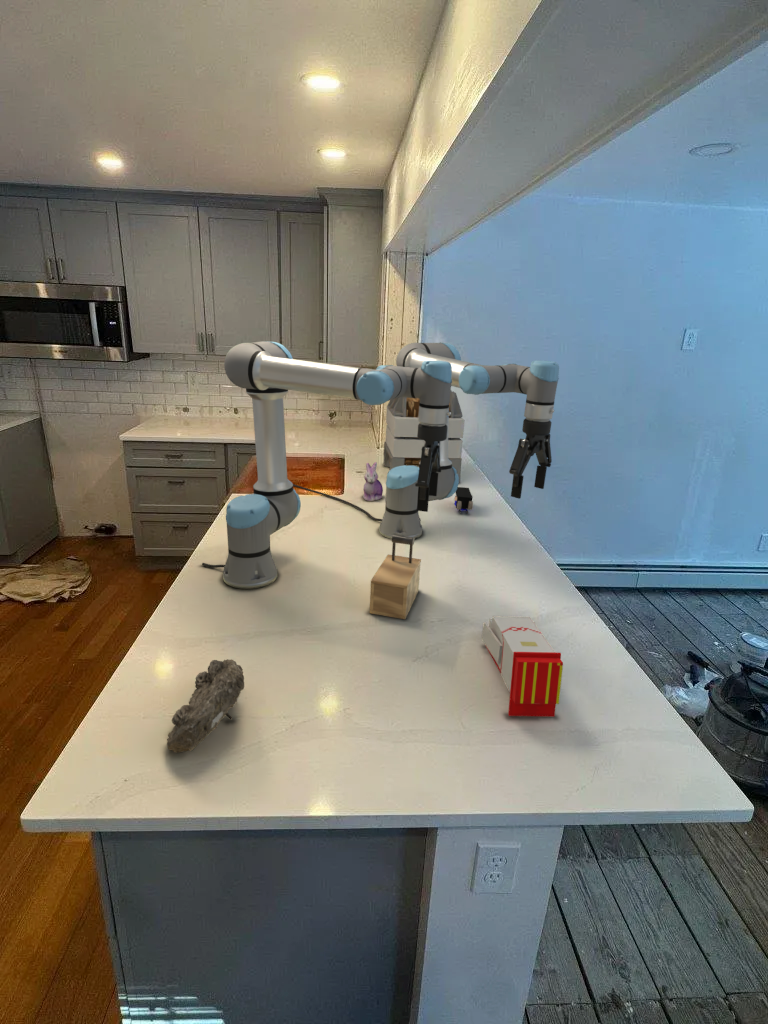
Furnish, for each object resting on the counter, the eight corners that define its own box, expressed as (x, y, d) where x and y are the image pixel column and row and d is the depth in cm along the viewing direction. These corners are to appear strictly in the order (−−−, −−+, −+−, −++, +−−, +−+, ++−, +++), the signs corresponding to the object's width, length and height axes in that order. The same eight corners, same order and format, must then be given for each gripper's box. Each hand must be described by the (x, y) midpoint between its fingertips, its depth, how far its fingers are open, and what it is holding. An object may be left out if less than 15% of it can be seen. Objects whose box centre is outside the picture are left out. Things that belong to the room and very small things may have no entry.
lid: (387, 556, 160) (389, 529, 157) (421, 561, 158) (423, 534, 155) (370, 583, 144) (371, 552, 142) (407, 588, 142) (409, 558, 139)
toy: (528, 601, 136) (572, 659, 107) (523, 653, 139) (565, 722, 110) (478, 600, 136) (508, 657, 107) (474, 652, 139) (503, 722, 109)
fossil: (192, 660, 117) (244, 628, 112) (224, 691, 120) (276, 661, 115) (142, 746, 98) (202, 712, 93) (182, 779, 101) (242, 748, 96)
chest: (385, 585, 162) (387, 558, 159) (418, 591, 160) (420, 563, 157) (369, 613, 147) (370, 583, 144) (405, 619, 145) (407, 589, 142)
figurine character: (473, 518, 221) (467, 502, 235) (475, 501, 218) (469, 485, 231) (455, 518, 221) (451, 501, 234) (457, 500, 218) (453, 485, 231)
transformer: (382, 463, 289) (386, 382, 275) (445, 464, 293) (451, 384, 279) (390, 482, 257) (394, 392, 243) (460, 483, 261) (468, 394, 247)
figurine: (367, 502, 230) (368, 467, 225) (357, 495, 238) (358, 460, 233) (388, 500, 234) (389, 465, 229) (377, 492, 242) (378, 458, 237)
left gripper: (439, 434, 132) (432, 520, 139) (454, 416, 154) (448, 491, 162) (408, 431, 133) (403, 516, 140) (427, 414, 156) (422, 487, 163)
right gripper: (527, 426, 145) (517, 505, 152) (570, 416, 162) (559, 487, 170) (502, 422, 150) (493, 498, 157) (546, 412, 167) (536, 481, 174)
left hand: (427, 502), depth 151 cm, fingers open, 13 cm apart
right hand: (527, 492), depth 163 cm, fingers open, 13 cm apart
